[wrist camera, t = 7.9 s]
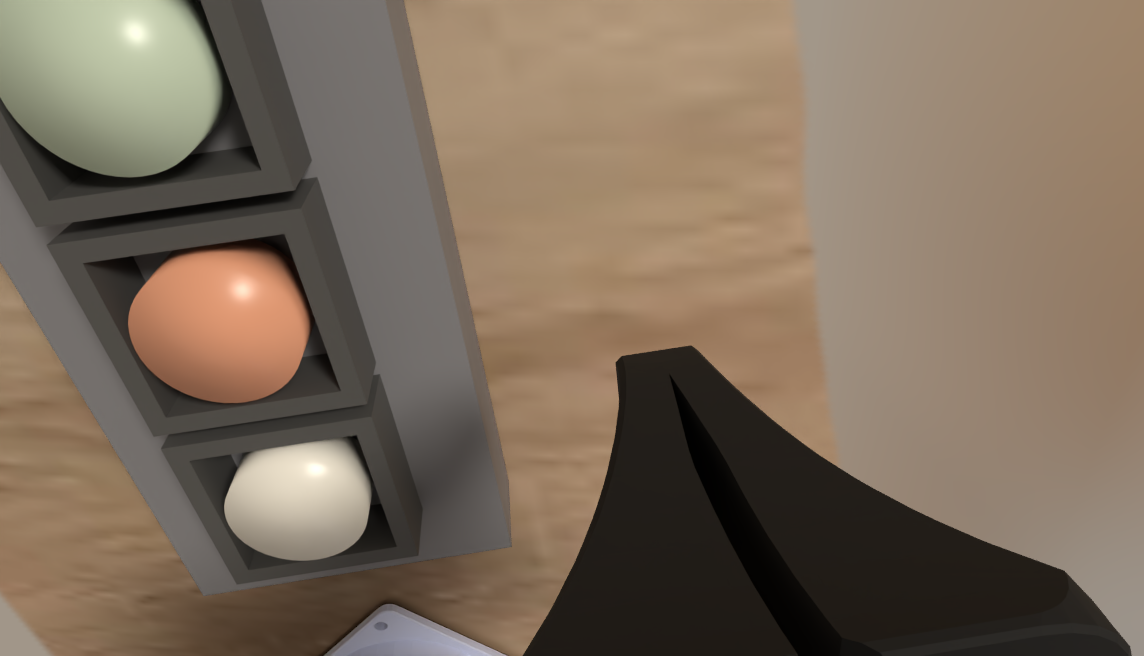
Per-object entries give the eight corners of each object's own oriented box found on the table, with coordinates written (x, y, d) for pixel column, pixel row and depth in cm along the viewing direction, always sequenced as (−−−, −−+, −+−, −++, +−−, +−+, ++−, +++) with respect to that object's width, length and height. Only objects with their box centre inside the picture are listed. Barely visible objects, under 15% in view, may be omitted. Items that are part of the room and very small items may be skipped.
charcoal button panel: (508, 481, 26) (513, 593, 22) (230, 525, 26) (184, 646, 22) (346, -260, 15) (296, -307, 11) (-154, -197, 14) (-397, -221, 10)
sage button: (258, 136, 15) (237, 162, 14) (86, 161, 15) (49, 189, 14) (191, -53, 13) (159, -45, 12) (-6, -27, 13) (-60, -15, 12)
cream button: (388, 506, 22) (382, 549, 20) (267, 525, 21) (252, 569, 20) (355, 412, 20) (346, 453, 18) (221, 433, 19) (202, 475, 18)
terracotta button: (334, 352, 18) (322, 390, 17) (191, 373, 18) (169, 413, 17) (288, 222, 17) (271, 254, 15) (129, 245, 16) (97, 280, 15)
